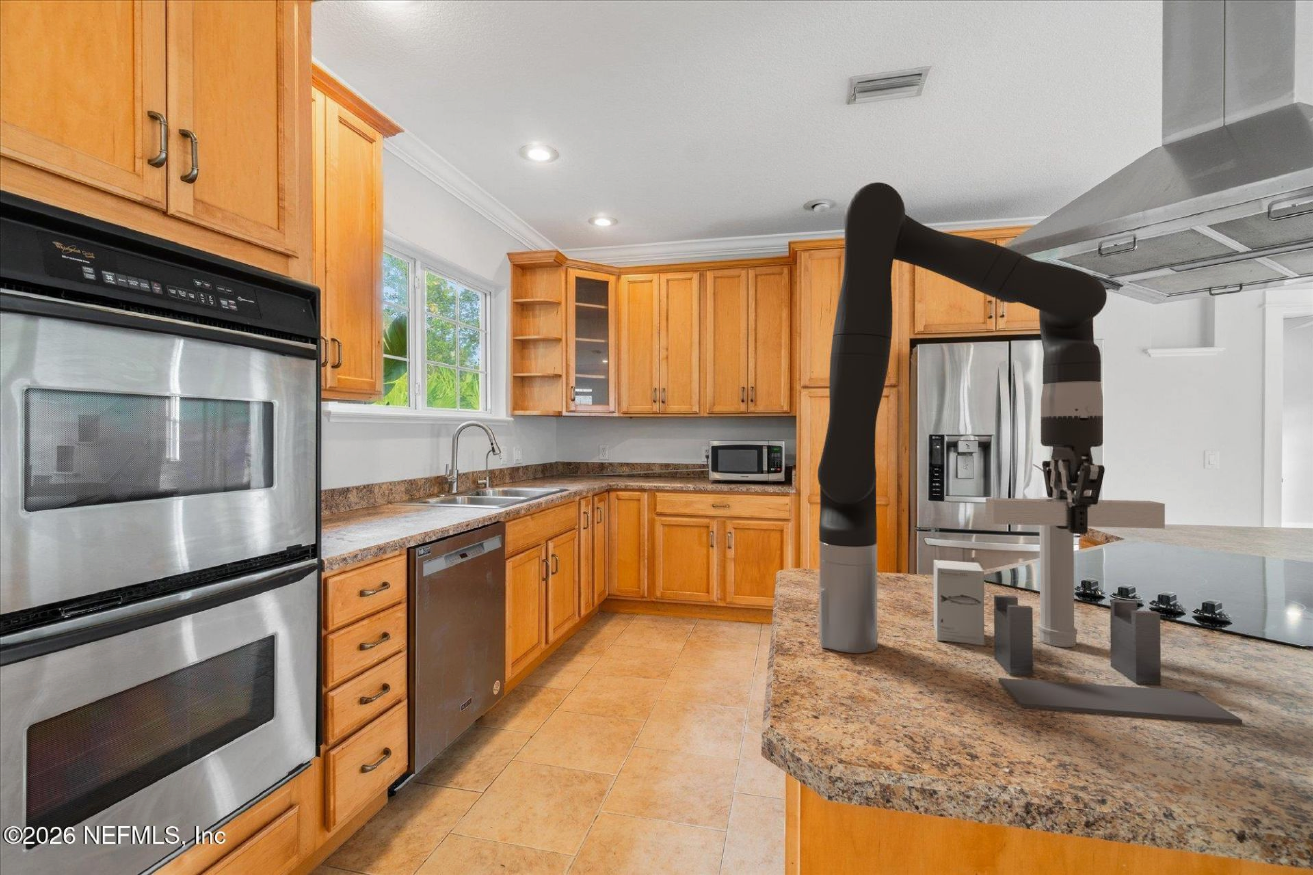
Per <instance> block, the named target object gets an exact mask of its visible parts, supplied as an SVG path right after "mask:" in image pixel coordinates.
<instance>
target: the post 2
mask: <svg viewBox="0 0 1313 875" xmlns="http://www.w3.org/2000/svg"><path fill="white" fill-rule="evenodd" d="M1109 610H1110V613H1109V614H1110V616H1109V617H1110V618H1109V619H1110V625H1109V626H1110V629H1109V630H1110V631H1109V632H1110V667H1111V668H1113V669H1114V670H1116V671H1117V673H1118V672H1119V673H1120V674H1121V675H1123V676H1124V677H1125V678H1127V679H1128V680H1130V681H1131V682H1133V683H1134V684H1137V685H1146V686H1147V685H1148V686H1149V685H1150V686H1162V676H1161V674H1162V673H1161V672H1162V670H1161V669H1162V668H1161V666H1162V664H1161V661H1162V660H1161V649H1162V648H1161V613H1160V612H1157V611H1155V610H1154V611H1153V610H1152V611H1151V610H1138V602H1136V601H1134V600H1117V599H1110V609H1109Z"/></svg>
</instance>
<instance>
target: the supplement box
mask: <svg viewBox="0 0 1313 875" xmlns="http://www.w3.org/2000/svg"><path fill="white" fill-rule="evenodd" d="M980 564H981V563H979V562H971V561H970V562H969V561H957V560H954V561H953V560H943V559H942V560H940V559H933V629H934V635H935V638H936V641H937V642H939V641H942V642H943V641H945V642H953V643H961V644H962V643H963V644H969V645H976V646H981V647H982V646H985V570H984V569H983V567H982V566H981V565H980Z"/></svg>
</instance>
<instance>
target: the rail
mask: <svg viewBox="0 0 1313 875" xmlns="http://www.w3.org/2000/svg"><path fill="white" fill-rule="evenodd" d="M1165 505H1166V503H1163V502H1159V501H1158V502H1157V501H1151V500H1127V499H1126V500H1125V499H1117V500H1116V499H1113V500H1112V499H1098V503H1097V505H1091V507H1090V508H1088V527H1091V528H1092V527H1097V528H1098V527H1099V528H1126V529H1127V528H1129V529H1130V528H1135V529H1165V527H1166V511H1165V510H1166V506H1165ZM1068 507H1069V505H1068V499H1038V498H1018V497H1017V498H1015V497H1014V498H1010V497H1008V498H1006V497H1002V498H1000V497H985V521H986V522H988V523H990V524H993V525H1015V526H1017V525H1021V526H1040V525H1050V526H1068Z"/></svg>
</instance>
